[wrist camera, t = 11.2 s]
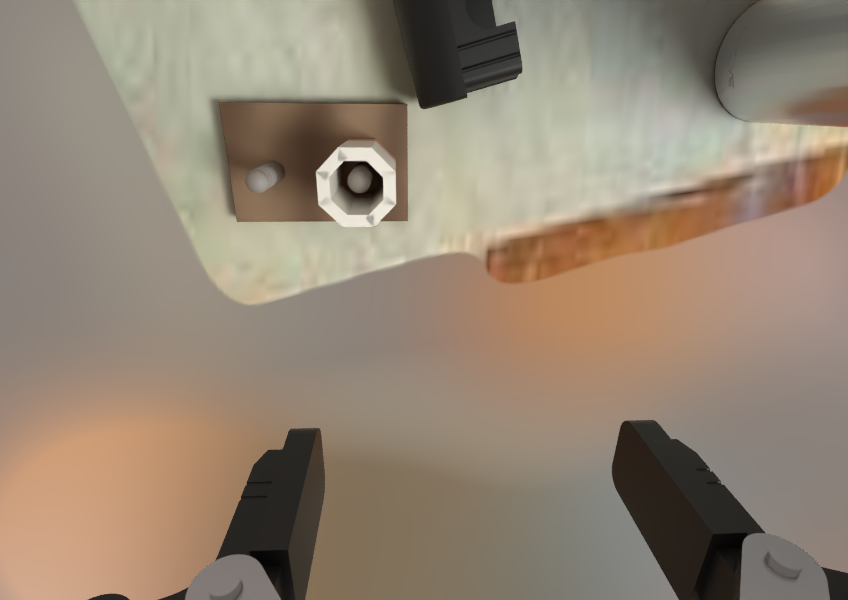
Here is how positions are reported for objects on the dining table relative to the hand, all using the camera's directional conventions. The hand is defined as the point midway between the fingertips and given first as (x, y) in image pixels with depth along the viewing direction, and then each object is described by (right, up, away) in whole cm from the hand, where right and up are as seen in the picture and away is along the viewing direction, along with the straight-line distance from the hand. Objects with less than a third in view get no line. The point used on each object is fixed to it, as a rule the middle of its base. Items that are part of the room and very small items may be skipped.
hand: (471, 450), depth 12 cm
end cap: (0, +25, +23) cm, 33 cm away
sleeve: (-6, +14, +25) cm, 29 cm away
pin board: (-10, +15, +26) cm, 31 cm away
